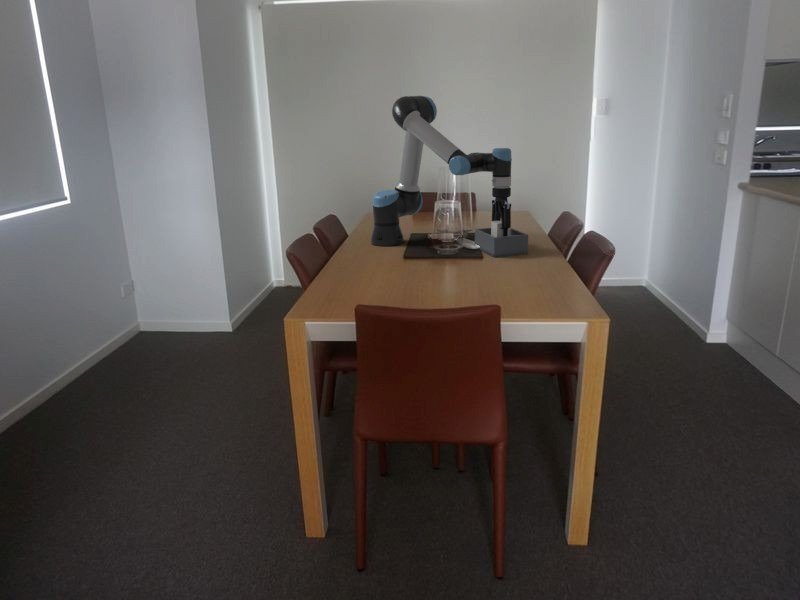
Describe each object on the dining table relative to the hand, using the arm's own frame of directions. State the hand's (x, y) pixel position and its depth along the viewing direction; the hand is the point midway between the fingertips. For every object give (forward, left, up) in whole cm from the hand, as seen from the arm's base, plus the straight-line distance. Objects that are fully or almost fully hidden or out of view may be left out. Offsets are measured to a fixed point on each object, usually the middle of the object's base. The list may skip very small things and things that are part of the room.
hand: (500, 242), depth 252 cm
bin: (0, 0, -3) cm, 3 cm away
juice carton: (0, 0, 0) cm, 0 cm away
